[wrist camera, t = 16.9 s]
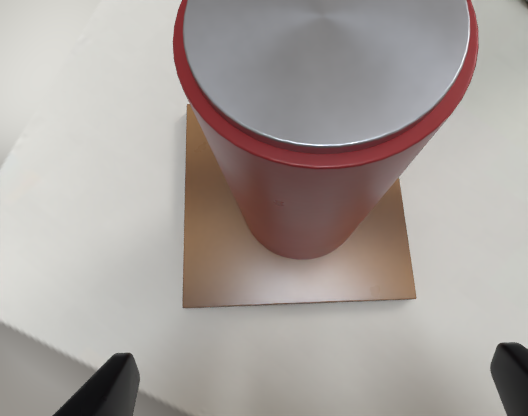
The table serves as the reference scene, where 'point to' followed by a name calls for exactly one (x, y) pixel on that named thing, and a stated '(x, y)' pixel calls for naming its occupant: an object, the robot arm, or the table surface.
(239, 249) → the coaster
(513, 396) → the robot arm
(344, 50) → the can
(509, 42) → the table surface
